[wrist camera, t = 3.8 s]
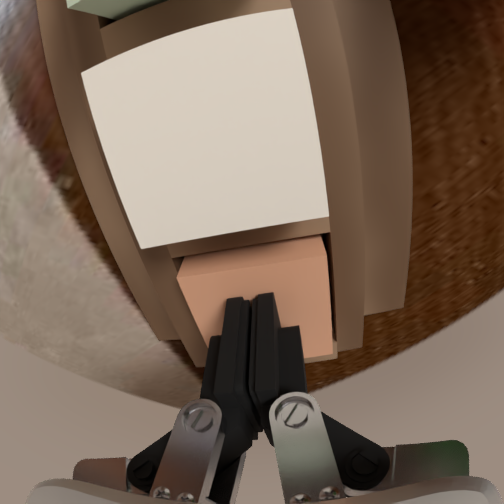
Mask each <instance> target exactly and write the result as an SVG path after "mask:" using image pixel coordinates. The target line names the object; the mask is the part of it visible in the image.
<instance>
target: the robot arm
mask: <svg viewBox="0 0 504 504" xmlns="http://www.w3.org/2000/svg"><path fill="white" fill-rule="evenodd" d="M263 429H264V431H265V433H266V435H267V438H268V439H269V442H270V444H271V445H272V446H273V447H275V452H276V457H277V463H278V468H279V474H280V479H281V484H282V489H283V495H284V500H285V504H503V501H502V498H501V496H500V494H499V492H498V490H497V488H496V487H495V486H494V484H492V483H491V482H490V481H489V480H487V479H484V478H480V477H473V476H469V454H468V450H467V448H466V446H465V445H464V444H463V443H461V442H459V441H457V440H448V441H440V442H430V443H420V444H406V445H405V444H404V445H396V446H395V447H381V446H379V445H378V444H376V443H374V442H372V441H370V440H369V439H367V438H365V437H363V436H361V435H360V434H358V433H356V432H354V431H353V430H351V429H349V428H348V427H346V426H344V425H343V424H341V423H339V422H338V421H336V420H334V419H333V418H331V417H329V416H327V415H326V414H324V413H323V412H321V411H320V408H319V405H318V403H317V401H316V400H315V399H314V398H313V397H312V396H311V395H308V393H307V383H306V373H305V364H304V355H303V347H302V339H301V333H300V327H299V325H297V326H290V327H283V328H281V324H280V319H279V315H278V310H277V305H276V301H275V296H274V292H270V293H263V294H258V298H257V299H253V301H252V308H251V304H250V301H249V300H244V298H243V297H235V298H228V299H227V301H226V307H225V314H224V321H223V328H222V335H216V336H211V338H210V341H209V347H208V353H207V358H206V364H205V370H204V376H203V382H202V388H201V394H200V399H197V400H193V401H191V402H189V403H187V404H186V405H185V406H184V407H183V408H182V409H181V410H180V412H179V414H178V416H177V419H176V421H175V424H174V427H173V429H172V430H171V431H170V432H168V433H167V434H166V435H164V436H163V437H162V438H160V439H159V440H157V441H156V442H154V443H153V444H152V445H150V446H149V447H147V448H146V449H145V450H143V451H142V452H140V453H139V454H137V455H136V456H135V457H134V458H132V459H128V458H126V457H121V458H120V457H119V458H101V459H100V458H98V459H83V460H81V461H79V462H78V463H77V464H76V466H75V467H74V471H73V480H72V479H51V480H47V481H43V482H40V483H38V484H37V485H36V486H35V487H34V488H33V489H32V490H31V492H30V494H29V496H28V498H27V501H26V504H235V501H236V497H237V493H238V488H239V484H240V480H241V476H242V471H243V467H244V462H245V458H246V451H247V450H248V449H249V448H250V447H251V446H252V440H257V439H258V432H262V431H263ZM346 497H348V498H346Z"/></svg>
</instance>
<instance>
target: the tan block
mask: <svg viewBox="0 0 504 504" xmlns="http://www.w3.org/2000/svg"><path fill="white" fill-rule="evenodd" d="M177 281H178V283H179V285H180V288H181V290H182V292H183V295H184V297H185V299H186V301H187V304H188V306H189V308H190V310H191V313H192V315H193V317H194V319H195V321H196V324H197V326H198V328H199V330H200V332H201V334H202V336H203V339H204V341H205V343H206V345H207V347H209V341H210V338H211V336H216V335H222V328H223V321H224V314H225V307H226V301H227V299H228V298H235V297H243V298H244V300H249V301H250V304H251V308H252V301H253V299H257V298H258V294H263V293H270V292H274V296H275V301H276V305H277V310H278V315H279V319H280V324H281V328H283V327H290V326H297V325H299V327H300V333H301V339H302V347H303V355H304V358H310V357H317V356H323V355H329V354H333V343H332V321H331V304H330V289H329V276H328V264H327V254H326V251H325V248H324V244H323V241H322V238H321V235H320V234H315V235H309V236H302V237H296V238H290V239H284V240H278V241H272V242H265V243H259V244H253V245H247V246H241V247H235V248H229V249H223V250H217V251H211V252H205V253H199V254H193V255H187V256H185V257H184V260H183V262H182V265H181V267H180V270H179V272H178V275H177Z"/></svg>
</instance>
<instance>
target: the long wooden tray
mask: <svg viewBox="0 0 504 504" xmlns="http://www.w3.org/2000/svg"><path fill="white" fill-rule="evenodd" d="M36 2H37V11H38V18H39V25H40V31H41V37H42V43H43V48H44V53H45V58H46V63H47V68H48V72H49V76H50V81H51V85H52V89H53V93H54V96H55V100H56V104H57V108H58V111H59V115H60V118H61V121H62V125H63V128H64V131H65V134H66V138H67V141H68V144H69V147H70V150H71V153H72V156H73V158H74V161H75V164H76V167H77V170H78V172H79V175H80V178H81V181H82V183H83V186H84V188H85V191H86V193H87V196H88V199H89V201H90V203H91V206H92V208H93V211H94V213H95V216H96V218H97V220H98V223H99V225H100V227H101V229H102V232H103V234H104V236H105V238H106V241H107V243H108V245H109V247H110V249H111V251H112V253H113V256H114V258H115V260H116V262H117V264H118V266H119V268H120V270H121V272H122V274H123V276H124V278H125V280H126V282H127V284H128V286H129V288H130V290H131V292H132V294H133V295H134V297H135V299H136V301H137V303H138V305H139V307H140V308H141V310H142V312H143V314H144V316H145V317H146V319H147V321H148V323H149V325H150V326H151V328H152V330H153V331H154V333H155V335H156V337H157V338H158V340H159V341H161V340H177V339H181V341H182V342H183V344H184V346H185V348H186V350H187V352H188V353H189V355H190V357H191V359H192V361H193V362H194V364H195V366H196V367H205V364H206V358H207V353H208V347H207V345H206V343H205V341H204V339H203V336H202V334H201V332H200V330H199V328H198V326H197V324H196V321H195V319H194V317H193V315H192V313H191V310H190V308H189V306H188V304H187V301H186V299H185V297H184V295H183V292H182V290H181V288H180V285H179V283H178V281H177V275H178V272H179V270H180V267H181V265H182V262H183V260H184V257H185V256H187V255H193V254H199V253H205V252H211V251H217V250H223V249H229V248H235V247H241V246H247V245H253V244H259V243H265V242H272V241H278V240H284V239H290V238H296V237H302V236H309V235H315V234H320V235H321V238H322V241H323V244H324V248H325V251H326V254H327V264H328V276H329V289H330V304H331V321H332V343H333V354H329V355H323V356H317V357H310V358H304V363H310V362H316V361H323V360H329V359H335V358H337V352H339V351H344V350H350V349H355V348H360V347H362V341H363V325H364V315H369V314H374V313H380V312H384V311H389V310H394V309H399V308H403V306H404V299H405V292H406V284H407V275H408V265H409V254H410V241H411V224H412V144H411V128H410V115H409V105H408V95H407V87H406V79H405V72H404V66H403V60H402V54H401V48H400V43H399V38H398V33H397V28H396V24H395V19H394V15H393V11H392V7H391V3H390V0H168V1H165V2H162V3H159V4H157V5H154V6H151V7H149V8H146V9H144V10H141V11H139V12H136V13H134V14H131V15H129V16H127V17H124V18H122V19H120V20H118V21H117V20H114V19H110V18H107V17H103V16H99V15H95V14H91V13H87V12H83V11H78V10H74V9H69V8H67V1H66V0H36ZM288 8H293V12H294V16H295V20H296V24H297V28H298V32H299V36H300V41H301V45H302V49H303V54H304V59H305V63H306V68H307V73H308V78H309V83H310V88H311V94H312V99H313V105H314V110H315V116H316V122H317V128H318V134H319V141H320V147H321V154H322V161H323V169H324V176H325V184H326V192H327V201H328V210H329V217H322V218H316V219H310V220H304V221H297V222H291V223H285V224H279V225H273V226H267V227H261V228H255V229H249V230H244V231H238V232H232V233H226V234H221V235H215V236H209V237H204V238H198V239H193V240H187V241H182V242H176V243H171V244H166V245H160V246H155V247H150V248H145V249H141V248H140V245H139V243H138V241H137V238H136V236H135V233H134V231H133V229H132V226H131V224H130V221H129V219H128V216H127V214H126V211H125V209H124V206H123V204H122V201H121V198H120V196H119V193H118V190H117V188H116V185H115V182H114V180H113V177H112V174H111V171H110V168H109V165H108V163H107V160H106V157H105V154H104V151H103V148H102V145H101V142H100V138H99V135H98V132H97V129H96V126H95V122H94V119H93V116H92V112H91V109H90V105H89V102H88V98H87V94H86V91H85V87H84V83H83V79H82V75H81V73H82V72H84V71H86V70H88V69H90V68H92V67H94V66H96V65H98V64H100V63H102V62H104V61H106V60H108V59H111V58H113V57H115V56H117V55H119V54H122V53H124V52H126V51H129V50H131V49H134V48H136V47H139V46H141V45H144V44H146V43H149V42H152V41H155V40H157V39H160V38H163V37H166V36H169V35H172V34H175V33H178V32H181V31H184V30H188V29H191V28H195V27H198V26H202V25H205V24H209V23H213V22H217V21H221V20H225V19H230V18H234V17H239V16H244V15H249V14H255V13H261V12H267V11H273V10H280V9H288Z"/></svg>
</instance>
